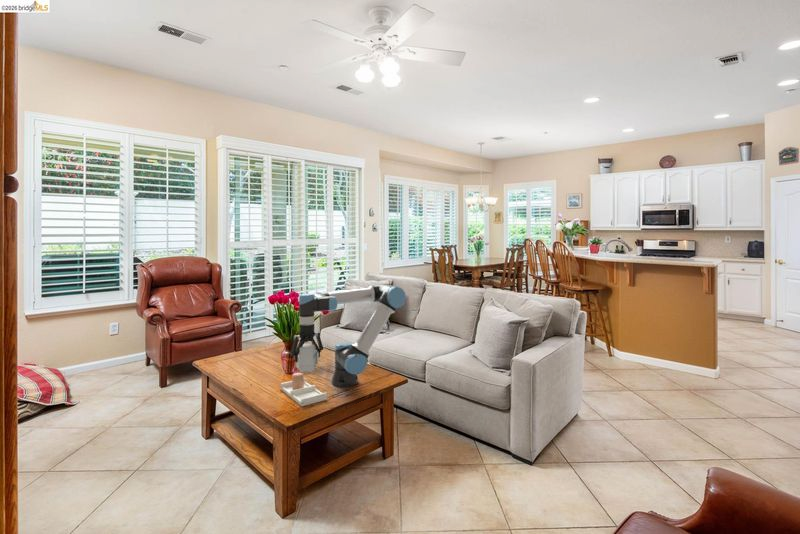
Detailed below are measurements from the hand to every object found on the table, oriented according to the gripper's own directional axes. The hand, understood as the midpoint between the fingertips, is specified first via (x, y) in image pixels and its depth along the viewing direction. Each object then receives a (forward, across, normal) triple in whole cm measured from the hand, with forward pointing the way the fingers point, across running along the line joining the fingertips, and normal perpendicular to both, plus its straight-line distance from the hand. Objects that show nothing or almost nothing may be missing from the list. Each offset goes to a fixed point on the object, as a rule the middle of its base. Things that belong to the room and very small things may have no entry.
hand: (307, 365), depth 207 cm
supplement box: (+2, 0, 0) cm, 2 cm away
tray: (+17, 0, -6) cm, 18 cm away
